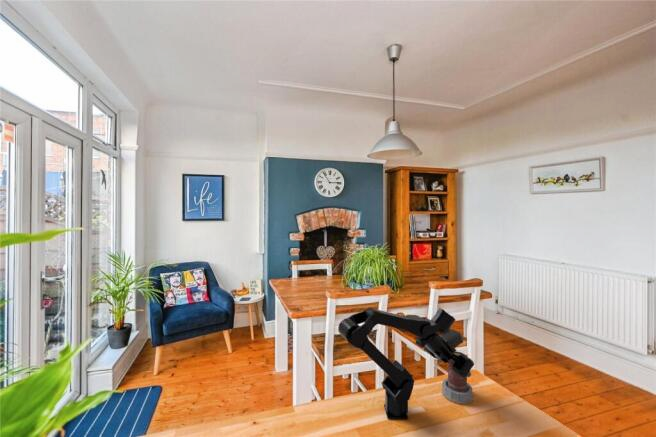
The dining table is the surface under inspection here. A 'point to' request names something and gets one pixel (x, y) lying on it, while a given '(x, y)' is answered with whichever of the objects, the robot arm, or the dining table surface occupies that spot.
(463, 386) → the can
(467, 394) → the segmented gray ring
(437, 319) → the robot arm
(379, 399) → the dining table surface
